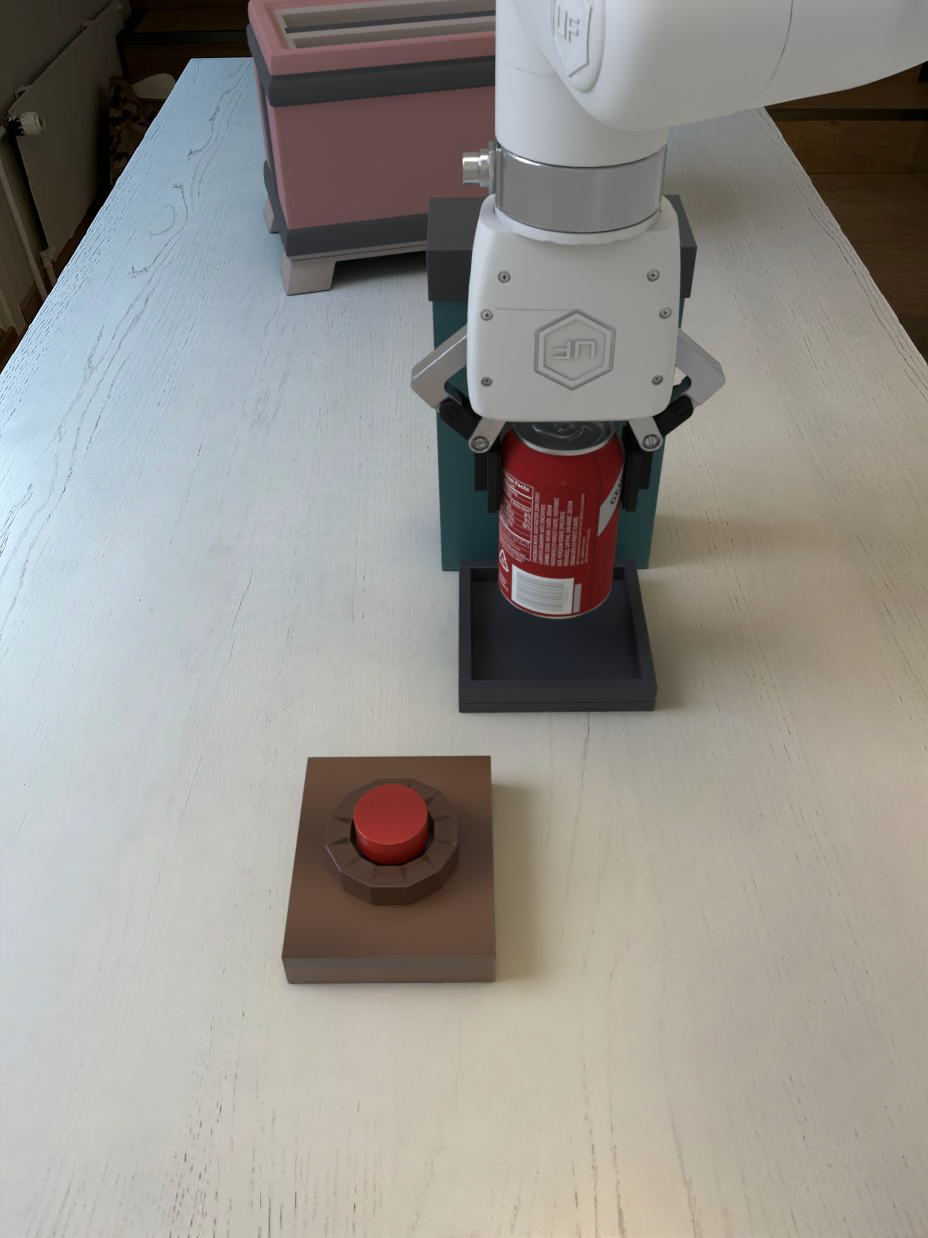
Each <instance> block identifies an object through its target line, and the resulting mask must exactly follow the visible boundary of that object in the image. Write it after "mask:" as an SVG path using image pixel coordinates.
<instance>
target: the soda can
mask: <svg viewBox="0 0 928 1238" xmlns="http://www.w3.org/2000/svg"><path fill="white" fill-rule="evenodd" d="M624 464H625V446H624V443H623V441H622V439H621V437H620V436H619V434H618V433H617V432H616V421H568V422H512V427H511V428H510V429H509V430H508V431H507V433H506V434H505V435H504V437H503V439H502V442H501V499H500V511H499V577H498V581H499V587H500V590H501V592H502V594H503V596H504V597H505V598H506V600H507V601H508V602H509V603H510V604H512V605H513V606H514V607H516V608H517V609H519V610H520V611H522V612H524V613H526V614H529V615H531V616H535V617H539V618H544V619H552V620H563V619H571V618H576V617H580V616H583V615H585V614H588V613H590V612H592V611H593V610H595V609H596V608H598V607H599V606H600V605H601V604H602V603H603V602H604V601H605V600H606V599H607V597H608V595H609V593H610V590H611V586H612V576H613V567H614V558H615V548H616V539H617V530H618V520H619V511H620V502H621V492H622V483H623V474H624Z"/></svg>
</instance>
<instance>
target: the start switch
mask: <svg viewBox="0 0 928 1238" xmlns="http://www.w3.org/2000/svg"><path fill="white" fill-rule="evenodd" d="M387 784H398V785H403V786H407V787H409V788H411V789H413V790H415V791H416V792H417V793H418V794H420V795H421V797H422V798H423V799H424V801H425V803H426V806H427V811H428V828H429V836H428V841H427V843H426V846H425V847H424V849H423V850H422V851H421V852H420V853H419V854H418V855H417V856H416V857H415V858H413V859H411V860H410V861H407V862H405V863H401V864H396V865H385V864H380V863H377V862H375V861H372V860H371V859H369V858H368V857H366V856H365V855H364V854H363V853H362V851H361V850H360V848H359V846H358V843H357V838H356V831H355V824H354V810H355V807H356V805H357V803H358V801H359V800H360V799H361V797H362V796H363V795H364V794H366V793H367V792H368V791H370V790H372V789H374V788H376V787H378V786H382V785H387ZM492 786H493V785H492V756H491V755H397V756H396V755H395V756H394V755H389V756H387V755H383V756H379V755H378V756H376V755H375V756H307V758H306V767H305V775H304V782H303V790H302V798H301V805H300V812H299V820H298V827H297V836H296V842H295V851H294V857H293V858H294V859H293V866H292V873H291V881H290V888H289V897H288V902H287V903H288V904H287V912H286V918H285V927H284V933H283V943H282V948H281V949H282V950H281V956H280V958H281V962H282V966H283V970H284V974H285V977H286V982H287V984H324V983H325V984H331V983H332V984H334V983H337V984H338V983H339V984H340V983H341V984H345V983H349V984H350V983H481V982H483V983H484V982H489V983H490V982H491V983H493V982H496V921H495V920H496V919H495V917H496V916H495V913H496V911H495V876H494V869H495V868H494V832H493V831H494V829H493V826H494V825H493V791H492V790H493V789H492Z"/></svg>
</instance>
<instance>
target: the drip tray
mask: <svg viewBox="0 0 928 1238" xmlns="http://www.w3.org/2000/svg"><path fill="white" fill-rule="evenodd" d="M498 577H499V560H460V561H459V570H458V646H457V647H458V650H457V651H458V658H457V660H458V661H457V663H458V665H457V667H458V669H457V671H458V672H457V673H458V674H457V675H458V678H457V680H458V681H457V682H458V683H457V684H458V685H457V686H458V687H457V688H458V689H457V693H458V694H457V695H458V697H457V698H458V713H533V712H534V713H535V712H536V713H542V712H543V713H545V712H639V711H640V712H645V711H646V712H648V711H650V712H652V711H655V707H656V701H657V693H658V683H657V676H656V670H655V664H654V660H653V653H652V648H651V642H650V636H649V630H648V624H647V619H646V613H645V606H644V602H643V596H642V590H641V584H640V577H639V573H638V569H637V567H636V562H635V559H614V567H613V576H612V586H611V590H610V593H609V595H608V597H607V599H606V600H605V601H604V602H603V603H602V604H601V605H600V606H599V607H598V608H596V609H595V610H593V611H592V612H590V613H588V614H585V615H583V616H580V617H576V618H571V619H563V620H552V619H544V618H539V617H535V616H531V615H529V614H526V613H524V612H522V611H520V610H519V609H517V608H516V607H514V606H513V605H512V604H510V603H509V602H508V601H507V600H506V598H505V597H504V596H503V594H502V592H501V590H500V587H499V581H498Z"/></svg>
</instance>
